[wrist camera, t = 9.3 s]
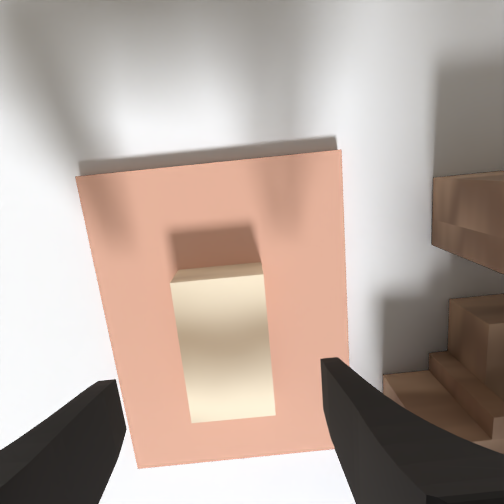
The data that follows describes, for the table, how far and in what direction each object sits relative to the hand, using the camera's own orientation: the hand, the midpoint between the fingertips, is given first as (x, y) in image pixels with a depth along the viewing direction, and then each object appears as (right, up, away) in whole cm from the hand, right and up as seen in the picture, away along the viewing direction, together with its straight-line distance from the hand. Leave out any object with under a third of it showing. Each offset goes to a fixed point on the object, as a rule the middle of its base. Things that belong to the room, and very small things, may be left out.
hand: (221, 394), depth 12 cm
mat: (0, +1, +6) cm, 6 cm away
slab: (0, +1, +5) cm, 6 cm away
